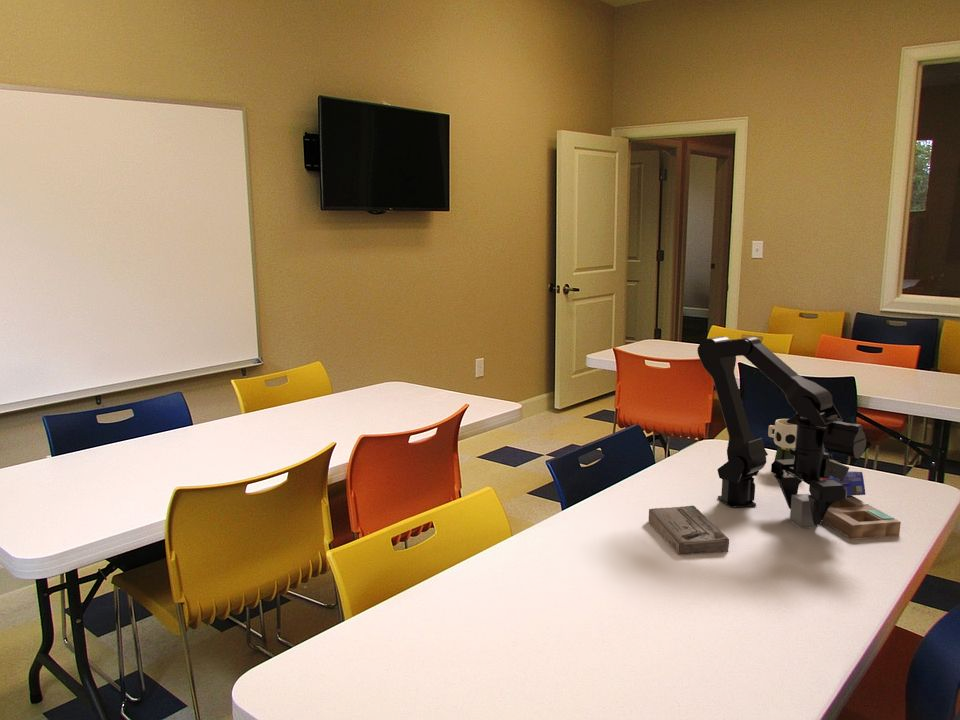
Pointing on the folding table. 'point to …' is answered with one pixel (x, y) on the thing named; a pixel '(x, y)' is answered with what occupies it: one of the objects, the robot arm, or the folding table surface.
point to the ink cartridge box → (851, 483)
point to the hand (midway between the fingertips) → (803, 516)
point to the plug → (801, 511)
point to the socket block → (860, 519)
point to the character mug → (783, 438)
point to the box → (688, 530)
